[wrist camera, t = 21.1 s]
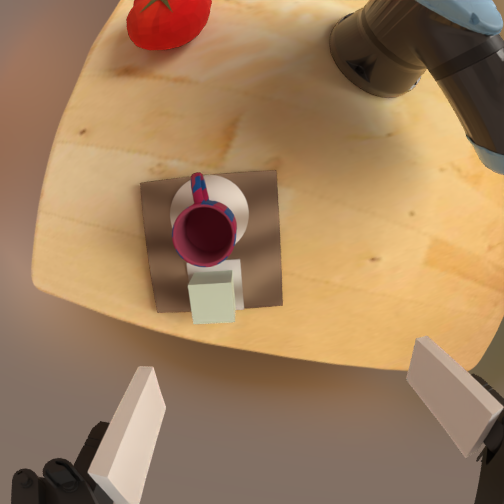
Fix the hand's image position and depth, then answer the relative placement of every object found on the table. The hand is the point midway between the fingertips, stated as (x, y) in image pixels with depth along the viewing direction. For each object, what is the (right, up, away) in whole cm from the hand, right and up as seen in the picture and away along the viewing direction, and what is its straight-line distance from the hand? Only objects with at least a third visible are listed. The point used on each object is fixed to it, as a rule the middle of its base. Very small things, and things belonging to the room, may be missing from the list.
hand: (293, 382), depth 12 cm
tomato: (-13, +39, +18) cm, 45 cm away
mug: (-7, +11, +23) cm, 26 cm away
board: (-7, +7, +25) cm, 27 cm away
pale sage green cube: (-7, +1, +25) cm, 26 cm away
